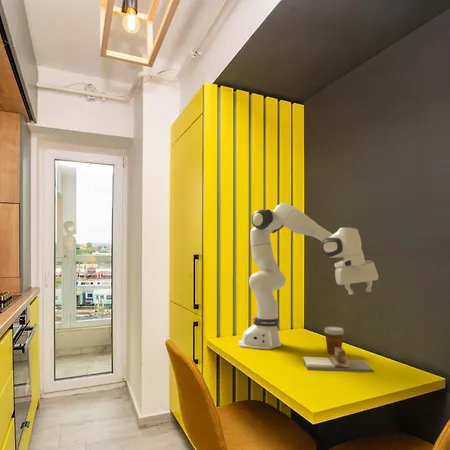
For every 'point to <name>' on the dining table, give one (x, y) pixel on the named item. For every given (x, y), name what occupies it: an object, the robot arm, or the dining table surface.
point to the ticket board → (327, 364)
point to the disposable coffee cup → (333, 338)
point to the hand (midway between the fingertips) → (360, 293)
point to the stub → (339, 358)
